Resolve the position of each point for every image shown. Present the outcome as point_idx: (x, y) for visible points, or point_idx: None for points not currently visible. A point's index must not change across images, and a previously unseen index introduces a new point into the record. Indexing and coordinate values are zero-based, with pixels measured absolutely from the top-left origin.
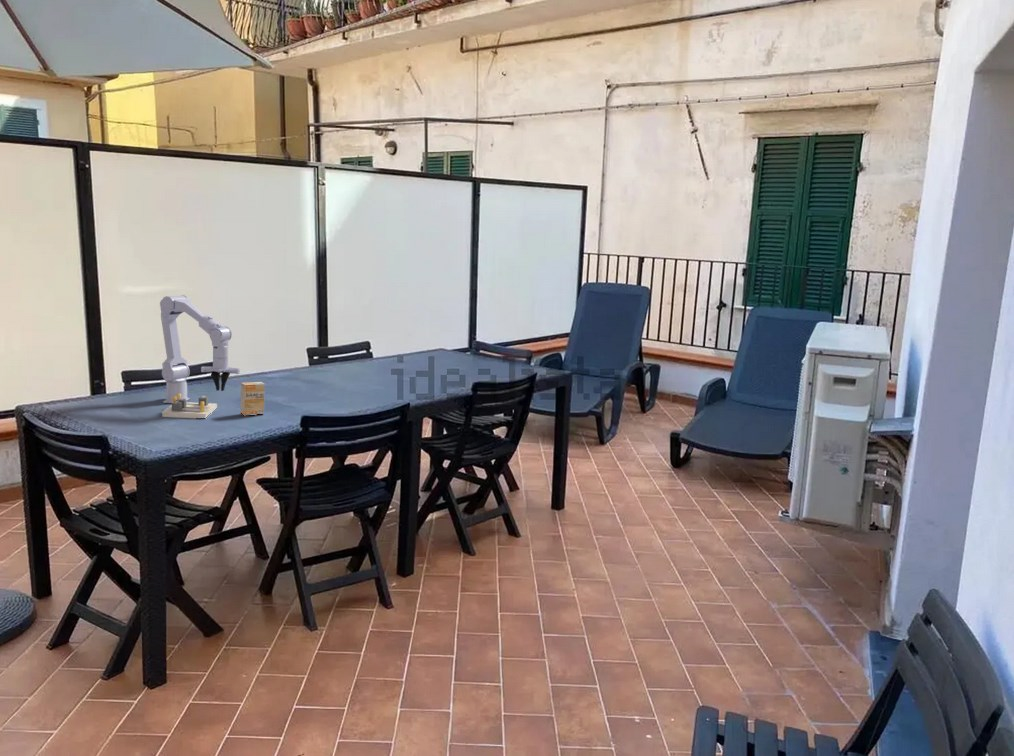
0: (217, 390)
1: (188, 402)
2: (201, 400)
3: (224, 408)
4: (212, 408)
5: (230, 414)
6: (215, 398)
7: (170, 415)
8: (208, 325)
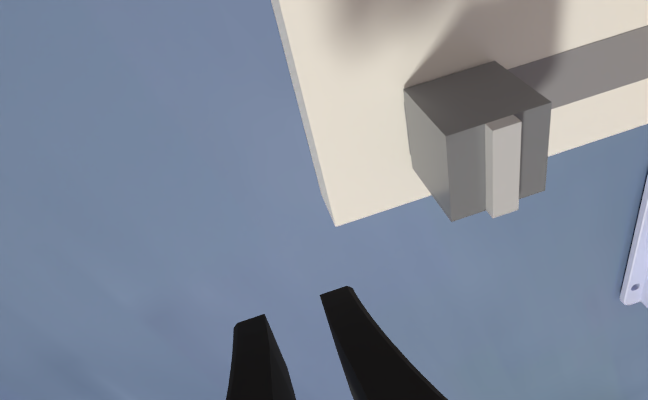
0: (332, 293)
1: (622, 123)
2: (495, 99)
3: (256, 229)
4: (286, 35)
5: (7, 41)
6: (458, 389)
7: None
8: None
